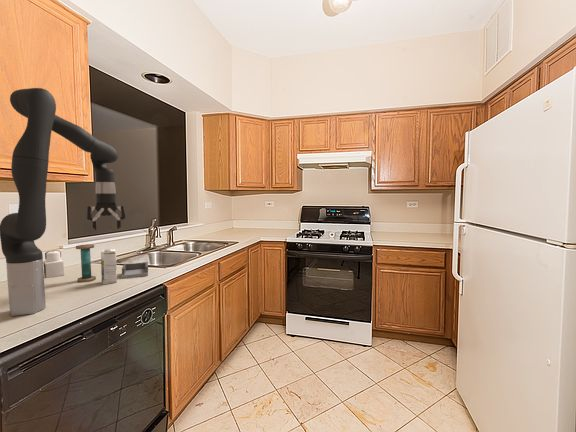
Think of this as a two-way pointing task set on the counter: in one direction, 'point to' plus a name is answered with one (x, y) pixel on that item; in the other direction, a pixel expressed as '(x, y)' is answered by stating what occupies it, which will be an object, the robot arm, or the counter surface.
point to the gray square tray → (135, 270)
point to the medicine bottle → (53, 264)
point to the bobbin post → (86, 263)
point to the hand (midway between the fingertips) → (107, 229)
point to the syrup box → (108, 266)
